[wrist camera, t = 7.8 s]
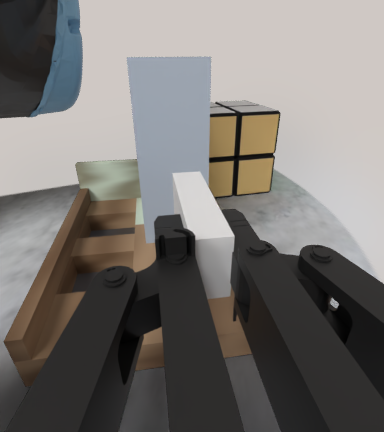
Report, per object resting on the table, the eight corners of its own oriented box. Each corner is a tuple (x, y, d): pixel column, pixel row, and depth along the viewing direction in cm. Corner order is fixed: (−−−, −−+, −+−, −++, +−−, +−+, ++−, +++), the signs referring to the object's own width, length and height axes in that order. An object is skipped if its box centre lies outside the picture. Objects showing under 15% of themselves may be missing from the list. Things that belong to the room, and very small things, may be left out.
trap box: (25, 386, 15) (-16, 302, 12) (87, 215, 31) (76, 162, 28) (265, 352, 16) (279, 270, 14) (204, 206, 33) (204, 155, 30)
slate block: (146, 243, 23) (126, 57, 17) (145, 205, 29) (131, 58, 23) (207, 237, 23) (211, 56, 17) (194, 201, 29) (193, 57, 23)
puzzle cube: (179, 173, 43) (177, 103, 38) (241, 168, 45) (247, 100, 40) (194, 201, 34) (194, 114, 30) (271, 193, 36) (282, 110, 31)
